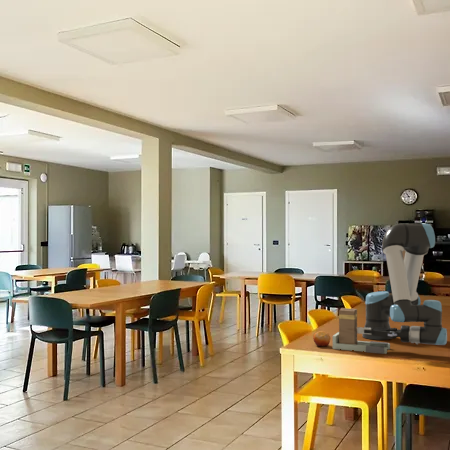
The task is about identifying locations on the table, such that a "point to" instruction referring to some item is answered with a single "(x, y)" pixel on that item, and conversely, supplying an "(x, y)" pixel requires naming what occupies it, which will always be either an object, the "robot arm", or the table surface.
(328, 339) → the fruit
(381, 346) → the chute
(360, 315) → the table surface
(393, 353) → the table surface
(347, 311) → the block
